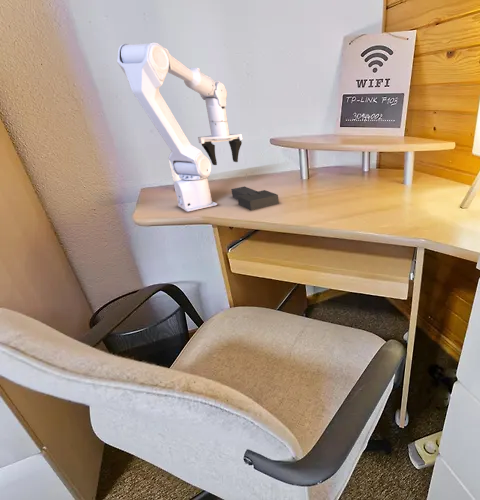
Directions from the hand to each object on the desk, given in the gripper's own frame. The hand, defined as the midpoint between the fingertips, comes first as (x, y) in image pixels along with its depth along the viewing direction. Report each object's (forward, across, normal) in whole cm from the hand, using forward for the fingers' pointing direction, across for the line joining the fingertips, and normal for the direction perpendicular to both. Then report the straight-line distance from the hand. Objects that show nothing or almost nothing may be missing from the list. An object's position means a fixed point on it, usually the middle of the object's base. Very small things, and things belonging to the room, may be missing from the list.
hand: (225, 163), depth 111 cm
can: (+11, +10, -16) cm, 22 cm away
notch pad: (+10, 0, +20) cm, 23 cm away
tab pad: (+10, 0, +12) cm, 16 cm away
